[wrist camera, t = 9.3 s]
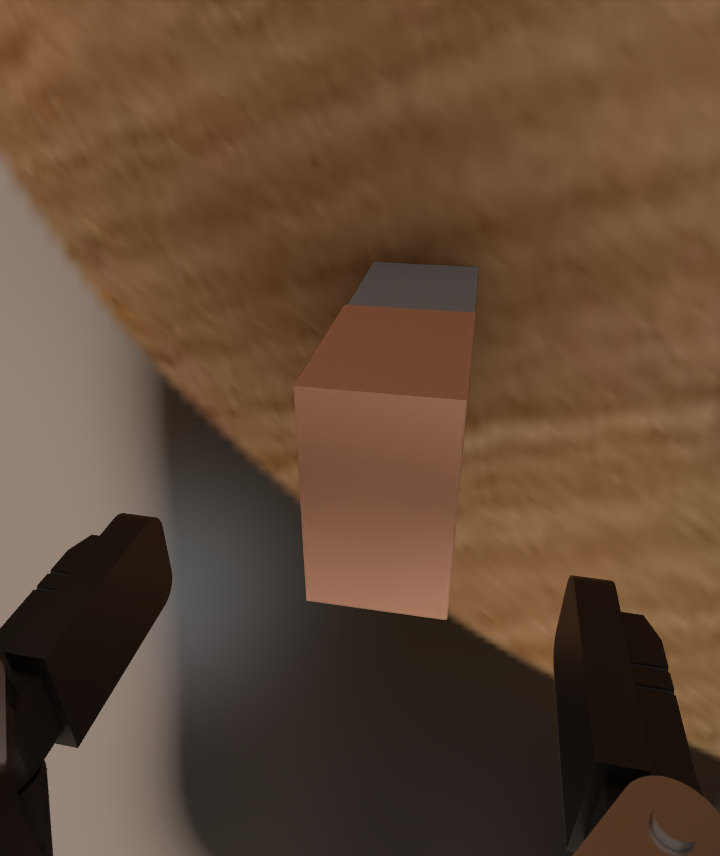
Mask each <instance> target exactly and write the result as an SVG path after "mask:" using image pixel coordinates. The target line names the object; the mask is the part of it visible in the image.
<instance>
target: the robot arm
mask: <svg viewBox="0 0 720 856" xmlns="http://www.w3.org/2000/svg"><path fill="white" fill-rule="evenodd" d="M171 585H172V571H171V566H170V561H169V556H168V551H167V546H166V541H165V536H164V531H163V526H162V523H161V521H160V520H159V519H158V518H155V517H148V516H140V515H133V514H126V513H121V514H119V515H117V516H116V517H115V518H114V519H113V521H112V522H111V523H110V524H109V525H108V527H107V528H106V529H105V530H104V531H103V533H102V534H101V535H100V536H97V535H91V536H89V537H88V538H86V539H85V540H83V541H81V542H80V543H78V544H77V545H75V546H74V547H72V548H71V549H69V550H68V551H67V552H66V553H65V554H64V555H63V557H62V558H61V559H60V560H59V561H58V562H57V564H56V565H55V566H54V567H53V568H52V569H51V573H50V574H47V575H46V576H45V577H44V578H43V580H42V581H41V582H40V583H39V584H38V585H37V589H36V590H33V591H32V592H31V594H30V595H29V596H28V597H27V598H26V599H25V600H24V602H23V603H22V604H21V605H20V606H19V607H18V609H17V610H16V611H15V612H14V613H13V614H12V615H11V617H10V618H9V619H8V620H7V621H6V623H5V624H4V625H3V626H2V627H1V628H0V856H53V847H52V833H51V821H50V806H49V791H48V778H47V768H46V763H45V760H44V759H45V757H46V756H47V754H48V753H49V751H50V750H51V748H52V747H53V745H54V743H56V744H61V745H66V746H71V747H76V748H78V747H79V745H80V744H81V742H82V740H83V739H84V737H85V735H86V734H87V732H88V731H89V729H90V727H91V726H92V724H93V722H94V721H95V719H96V717H97V716H98V714H99V712H100V711H101V709H102V708H103V706H104V704H105V702H106V701H107V699H108V698H109V696H110V694H111V693H112V691H113V689H114V688H115V686H116V685H117V683H118V681H119V680H120V678H121V676H122V675H123V673H124V671H125V670H126V668H127V667H128V665H129V663H130V662H131V660H132V658H133V657H134V655H135V653H136V652H137V650H138V648H139V647H140V645H141V643H142V642H143V640H144V639H145V637H146V635H147V634H148V632H149V630H150V629H151V627H152V626H153V624H154V622H155V620H156V619H157V617H158V616H159V614H160V612H161V611H162V609H163V607H164V606H165V604H166V602H167V600H168V597H169V595H170V591H171ZM554 680H555V694H556V709H557V723H558V737H559V752H560V766H561V780H562V794H563V809H564V823H565V837H566V850H568V851H572V852H575V853H574V855H573V856H720V815H719V814H718V813H717V811H716V810H715V809H714V807H713V806H712V805H711V804H710V803H709V802H708V801H707V800H706V799H705V798H704V796H703V794H702V792H701V790H700V787H699V785H698V781H697V779H696V774H695V770H694V766H693V762H692V758H691V754H690V750H689V746H688V742H687V738H686V734H685V731H684V727H683V723H682V719H681V715H680V711H679V707H678V703H677V699H676V695H674V687H673V683H672V679H671V675H670V673H668V663H667V659H666V655H665V651H664V647H663V644H662V640H661V639H660V637H659V636H658V635H657V633H656V632H655V631H654V629H653V628H652V626H651V625H650V624H649V622H648V621H647V620H646V618H645V617H644V616H643V615H639V614H632V613H625V612H621V611H620V606H619V601H618V596H617V591H616V586H615V583H614V582H613V581H609V580H602V579H594V578H587V577H580V576H572V575H571V576H570V577H569V579H568V582H567V587H566V591H565V595H564V600H563V604H562V608H561V613H560V617H559V621H558V626H557V630H556V635H555V642H554Z"/></svg>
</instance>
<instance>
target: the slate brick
mask: <svg viewBox="0 0 720 856" xmlns="http://www.w3.org/2000/svg"><path fill="white" fill-rule="evenodd" d="M478 269H479V267H469V266H449V265H428V264H408V263H387V262H373V264H372V266H371V267H370V269H369V270H368V272H367V274H366V275H365V277H364V279H363V280H362V282H361V284H360V285H359V287H358V288H357V290H356V292H355V293H354V295H353V297H352V298H351V300H350V301H349V303H348V305H361V306H377V307H393V308H409V309H426V310H442V311H458V312H474V313H475V303H476V291H477V280H478Z"/></svg>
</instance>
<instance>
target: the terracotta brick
mask: <svg viewBox="0 0 720 856" xmlns="http://www.w3.org/2000/svg"><path fill="white" fill-rule="evenodd" d="M475 314H476V313H474V312H458V311H442V310H426V309H409V308H393V307H377V306H361V305H345V304H344V306H343V307H342V309H341V311H340V312H339V314H338V315H337V317H336V319H335V320H334V322H333V323H332V325H331V327H330V328H329V330H328V331H327V333H326V335H325V336H324V338H323V339H322V341H321V343H320V344H319V346H318V347H317V349H316V351H315V352H314V354H313V355H312V357H311V359H310V360H309V362H308V363H307V365H306V367H305V368H304V370H303V371H302V373H301V375H300V376H299V378H298V379H297V381H296V383H295V384H294V386H293V387H294V404H295V420H296V436H297V452H298V469H299V485H300V501H301V516H302V534H303V550H304V566H305V582H306V598H307V601H315V602H322V603H329V604H336V605H343V606H351V607H358V608H365V609H372V610H379V611H386V612H393V613H401V614H408V615H414V616H422V617H429V618H436V619H443V620H446V619H447V612H448V601H449V591H450V581H451V571H452V560H453V550H454V540H455V530H456V519H457V509H458V499H459V488H460V477H461V466H462V455H463V444H464V433H465V422H466V412H467V401H468V390H469V379H470V368H471V357H472V346H473V335H474V324H475Z"/></svg>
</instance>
